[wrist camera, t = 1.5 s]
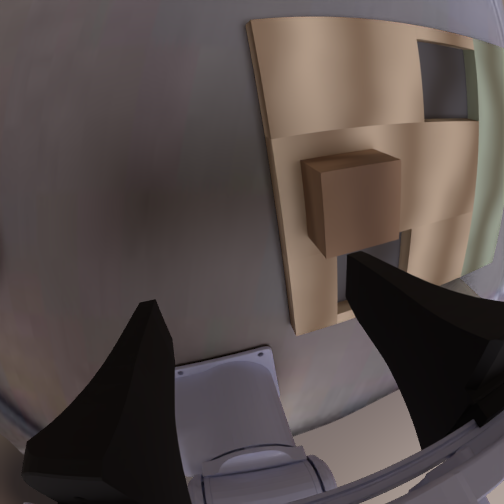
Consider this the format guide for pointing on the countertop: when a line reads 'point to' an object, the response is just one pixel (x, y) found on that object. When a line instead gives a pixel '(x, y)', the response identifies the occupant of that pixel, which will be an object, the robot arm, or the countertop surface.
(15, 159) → the countertop surface
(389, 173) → the block
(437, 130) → the board
